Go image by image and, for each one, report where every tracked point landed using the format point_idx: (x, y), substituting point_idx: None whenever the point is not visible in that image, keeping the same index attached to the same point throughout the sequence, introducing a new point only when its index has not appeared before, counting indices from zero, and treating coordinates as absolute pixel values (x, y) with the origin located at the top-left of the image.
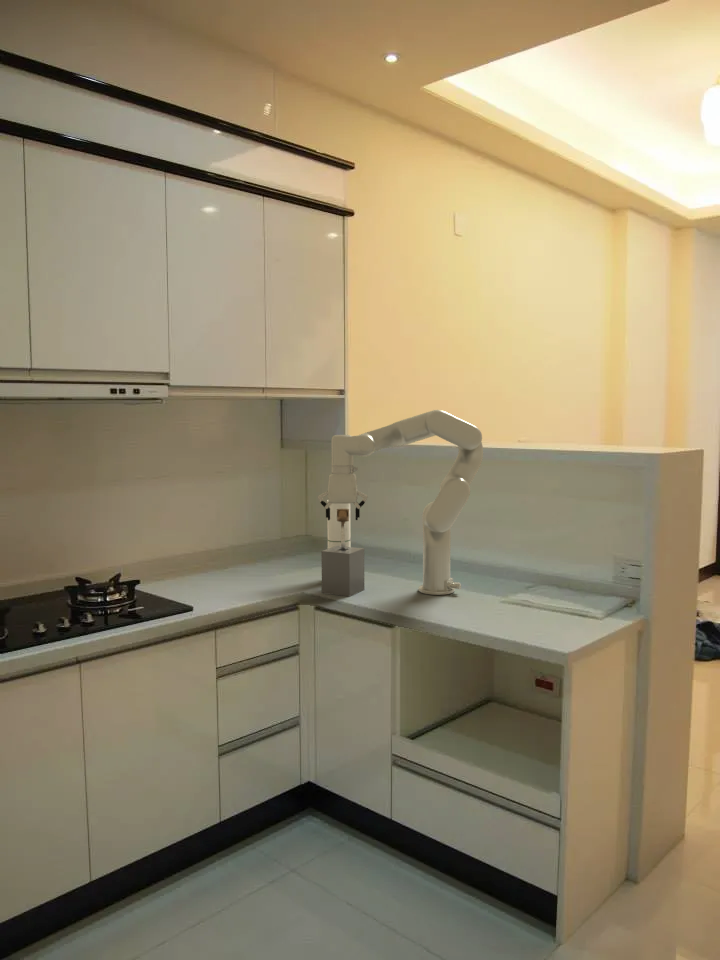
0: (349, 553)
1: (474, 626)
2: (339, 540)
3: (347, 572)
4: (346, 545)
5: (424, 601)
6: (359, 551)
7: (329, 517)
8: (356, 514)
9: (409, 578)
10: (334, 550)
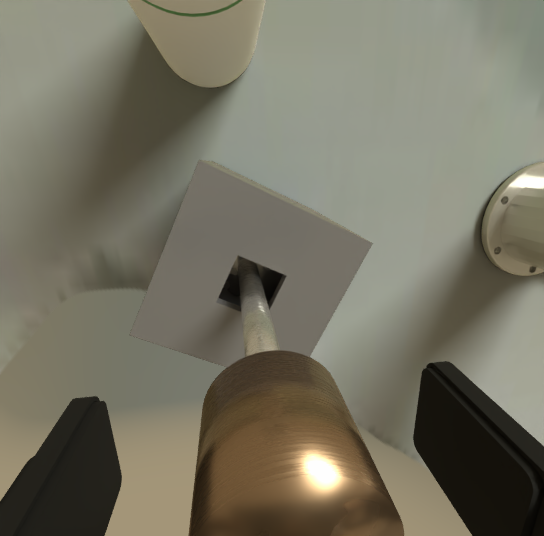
0: None
1: None
2: (198, 10)
3: None
4: (251, 2)
5: (468, 334)
6: (341, 292)
7: (108, 510)
8: (462, 505)
9: (495, 9)
10: (204, 316)
